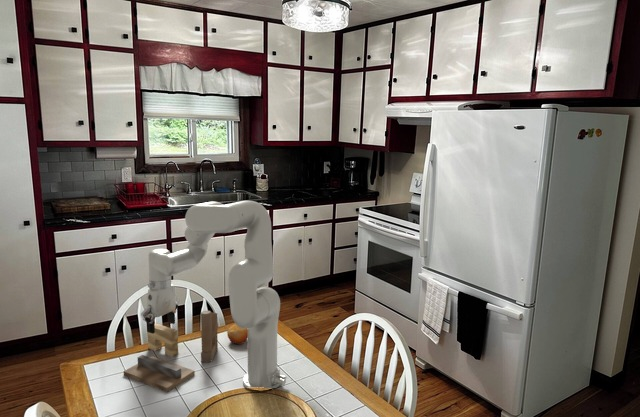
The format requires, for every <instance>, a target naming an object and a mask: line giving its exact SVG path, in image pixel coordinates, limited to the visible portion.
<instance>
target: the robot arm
mask: <svg viewBox="0 0 640 417" xmlns="http://www.w3.org/2000/svg"><path fill="white" fill-rule="evenodd" d="M184 220H185V223H186V226H187V227H186V228H185V229H184V238H185V239H186V241H187V242H188V245H187V246H186V247H185V248H184V249H181V250H178V251H174V252H170V250H168V249H167V248H155V249H151V250H150V251H149V252H148V281H149V283H148V284H147V288H148V291H147V296H146V307H145V309H144V310H142V311H141V313H140V317H141V318H142V321H144V322H145V323H146V331H147V333H148V332H149V333H152V334H153V333H155V324H156V323H155V322H154V321H155V320H156V318H160V317H162V316H164V315H166V314H167V323H170V324H171V325H174V324H176V313H177V310H178V307H179V303H180V298H176V292H175V291H176V290H175V287H174V284H173V283H172V276H176V275H179V274H181V273H184V272H186V271H190V270H192V269H193V268H195V267H197V265H198V264H199V263H200V262H201V261H202V260H203V258H205V255H206V254H207V252H208V244H209V242H210V240H211V239H212V238H213V237H214V236H215V234H227V233H232V232H235V231H239V230H242V229H247V232H246V234H245V238H244V245H243V246H244V259H243V260H242V261H239V262H237V263H236V264H234V265H233V266H232V268H231V269H230V271H229V273H228V279H227V280H228V283H227V284H228V293H229V294H228V296H229V304H230V305H229V306H230V312H231V313H230V314H231V318H232V321H233V322H234V324H236V325H237V326H239V327H240V328H243V329H248V337H247V373H246V374H244V376H243V378H242V384H243V386H244V387H245V388H246V387H264V388H275V389H276V388H278V387H279V386H285V385H286V383H287V382H286V380H287V375H284V374H282V373H281V369H280V368H278V324H279V317H280V309H281V299H280V296H279V294H278V292H277V291H276V290H275V289H273V288H272V287H267V286H265V285H266V284H268V283H270V282H271V281H272V280H273V277H274V271H275V270H274V268H275V267H274V259H273V258H274V257H273V256H274V255H273V245H272V221H271V217H270V214H269V211H268V210H267V209H266V207H264V206H263V205H262V204H261V203H259V202H257V201H253V200H241V201H236V202H232V203H227V204H223V203H221V202H219V201H208V202H207V201H206V202H202V203H197V204H194V205H192V206H190V207H189V208H188V209H187V211H186V213H185V216H184ZM264 286H265V287H264ZM154 323H155V324H154Z"/></svg>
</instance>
